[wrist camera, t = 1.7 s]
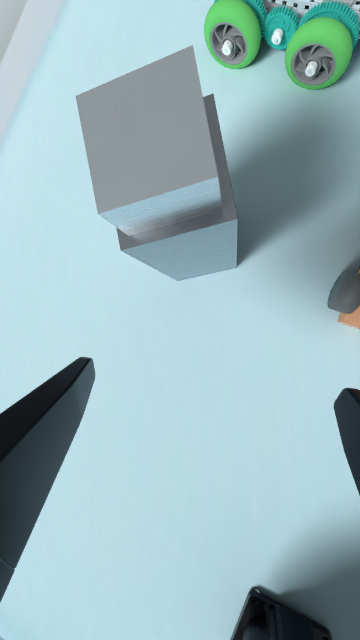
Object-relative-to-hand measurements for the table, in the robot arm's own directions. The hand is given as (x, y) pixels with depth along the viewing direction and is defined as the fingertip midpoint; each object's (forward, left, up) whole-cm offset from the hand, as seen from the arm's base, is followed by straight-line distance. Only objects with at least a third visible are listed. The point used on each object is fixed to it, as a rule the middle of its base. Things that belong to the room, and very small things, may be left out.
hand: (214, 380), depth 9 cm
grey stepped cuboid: (+7, +4, -12) cm, 15 cm away
